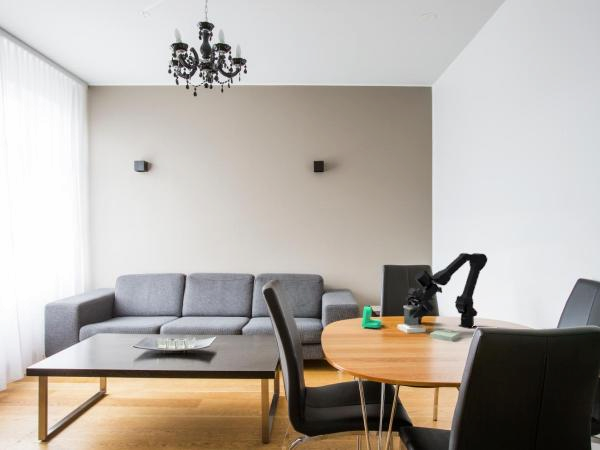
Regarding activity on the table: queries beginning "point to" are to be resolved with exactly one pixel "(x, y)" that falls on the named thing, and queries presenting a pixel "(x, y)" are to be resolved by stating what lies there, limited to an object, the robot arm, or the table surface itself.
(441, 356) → the table surface
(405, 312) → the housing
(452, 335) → the stand
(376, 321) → the camera mount
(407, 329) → the stand
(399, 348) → the table surface
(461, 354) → the table surface
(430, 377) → the table surface
